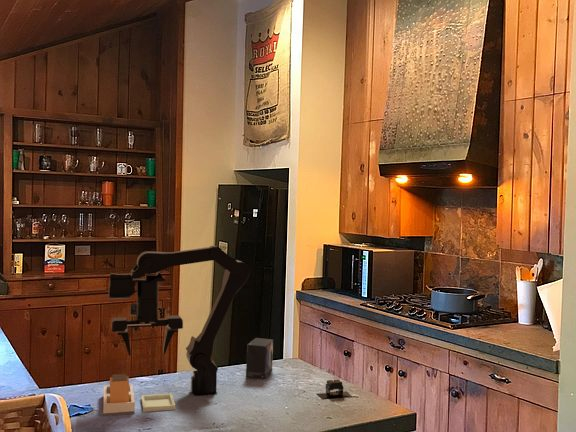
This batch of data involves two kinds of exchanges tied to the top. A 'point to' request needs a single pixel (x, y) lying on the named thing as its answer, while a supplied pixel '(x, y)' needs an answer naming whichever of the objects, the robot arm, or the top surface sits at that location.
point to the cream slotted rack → (118, 404)
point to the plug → (119, 388)
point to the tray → (158, 402)
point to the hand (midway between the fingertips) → (146, 354)
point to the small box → (259, 358)
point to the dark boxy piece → (336, 394)
